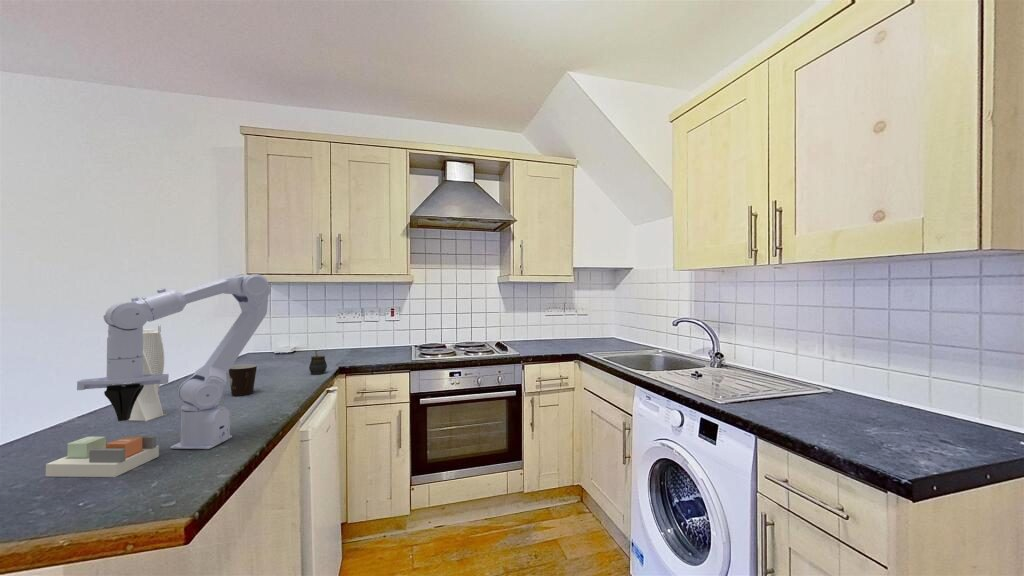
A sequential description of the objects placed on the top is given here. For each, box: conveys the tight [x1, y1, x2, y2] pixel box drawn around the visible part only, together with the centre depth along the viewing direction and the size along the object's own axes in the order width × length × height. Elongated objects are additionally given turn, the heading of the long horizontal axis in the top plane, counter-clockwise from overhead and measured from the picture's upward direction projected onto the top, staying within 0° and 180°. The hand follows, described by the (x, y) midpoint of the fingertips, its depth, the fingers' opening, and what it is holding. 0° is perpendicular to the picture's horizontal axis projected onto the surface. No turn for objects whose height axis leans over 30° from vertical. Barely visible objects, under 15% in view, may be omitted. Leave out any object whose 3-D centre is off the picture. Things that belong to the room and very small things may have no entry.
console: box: [45, 435, 160, 478], centre depth 86 cm, size 14×10×5 cm
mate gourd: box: [308, 350, 328, 376], centre depth 182 cm, size 7×8×10 cm
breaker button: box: [106, 436, 142, 459], centre depth 86 cm, size 4×4×3 cm
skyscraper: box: [125, 323, 169, 423], centre depth 118 cm, size 8×8×28 cm
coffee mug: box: [228, 364, 258, 397], centre depth 144 cm, size 12×9×10 cm
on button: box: [66, 436, 107, 459], centre depth 86 cm, size 4×4×3 cm
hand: (124, 419), depth 87 cm, fingers closed
